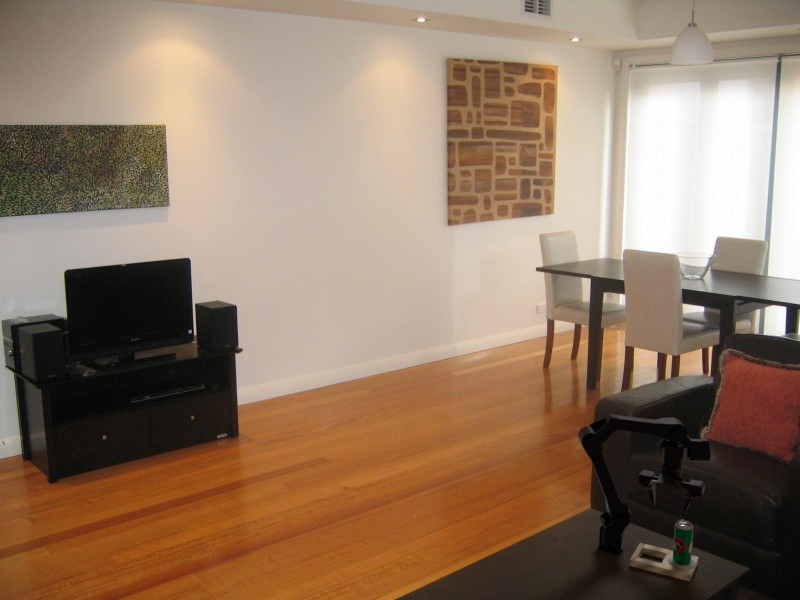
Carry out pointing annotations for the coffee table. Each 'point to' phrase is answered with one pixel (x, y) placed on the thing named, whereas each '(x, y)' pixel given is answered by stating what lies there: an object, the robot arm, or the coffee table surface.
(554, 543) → the coffee table surface
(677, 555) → the soda can
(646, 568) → the pocket board
